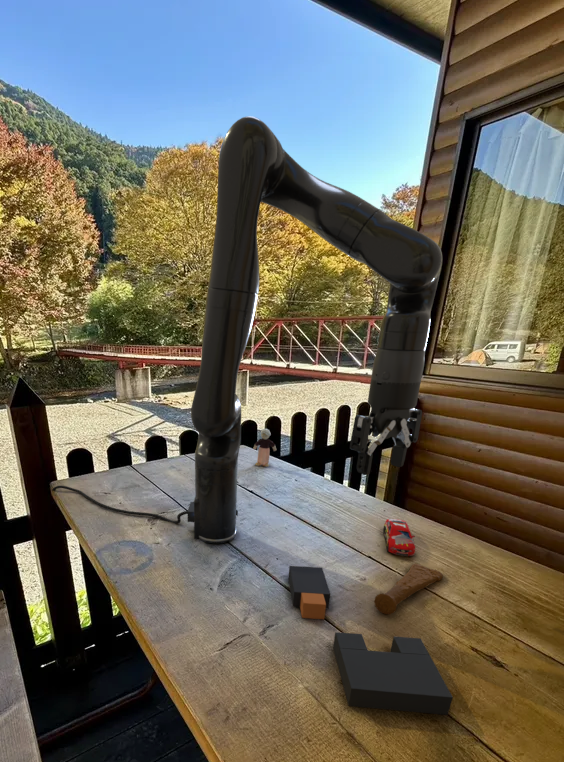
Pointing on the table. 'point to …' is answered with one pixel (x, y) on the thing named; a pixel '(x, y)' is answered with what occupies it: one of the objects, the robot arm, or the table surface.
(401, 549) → the race car
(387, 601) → the primitive tool
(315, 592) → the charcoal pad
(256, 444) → the grandmother figurine
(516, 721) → the table surface
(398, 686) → the black pad
